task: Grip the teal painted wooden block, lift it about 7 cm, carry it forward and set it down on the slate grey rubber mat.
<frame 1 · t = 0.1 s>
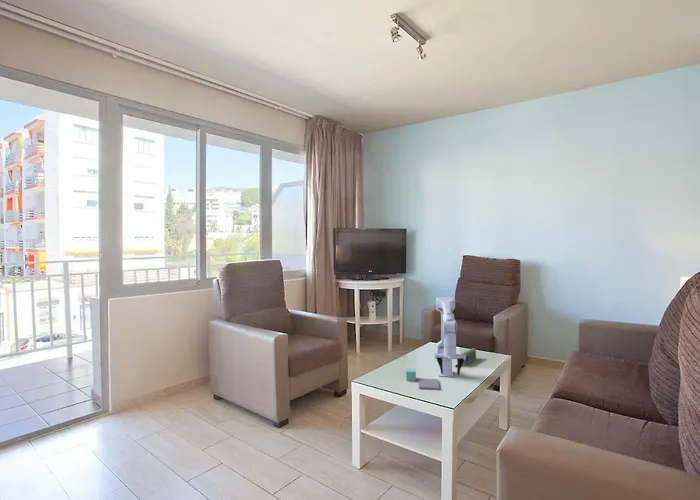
hand: (450, 373, 181), 10 cm above the table, tool pointing down, fingers open, 7 cm apart
handheld radio: (465, 363, 228), on the table
teal block: (411, 379, 202), on the table
slate mat: (428, 384, 194), on the table
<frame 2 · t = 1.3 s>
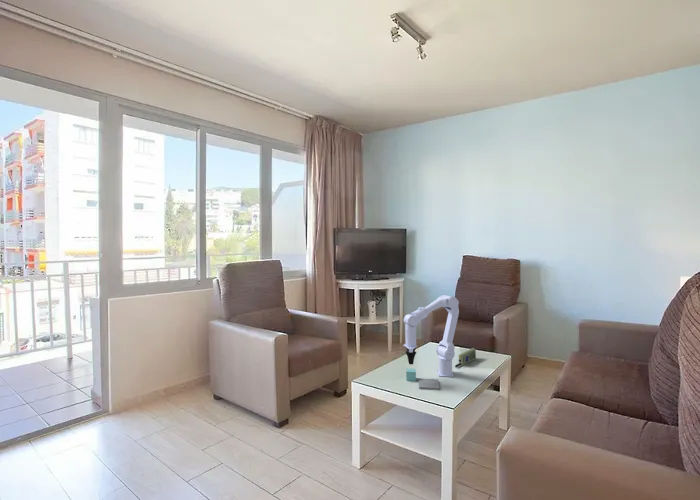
hand: (411, 361, 202), 9 cm above the table, tool pointing down, fingers open, 7 cm apart
nothing on the table moved.
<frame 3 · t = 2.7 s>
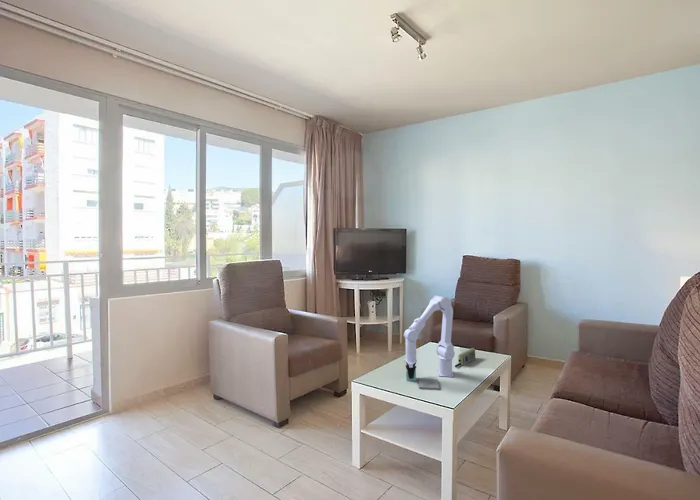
hand: (411, 376, 202), 1 cm above the table, tool pointing down, fingers closed on teal block, 5 cm apart
teal block: (411, 379, 202), on the table, touching gripper
everything else where it was.
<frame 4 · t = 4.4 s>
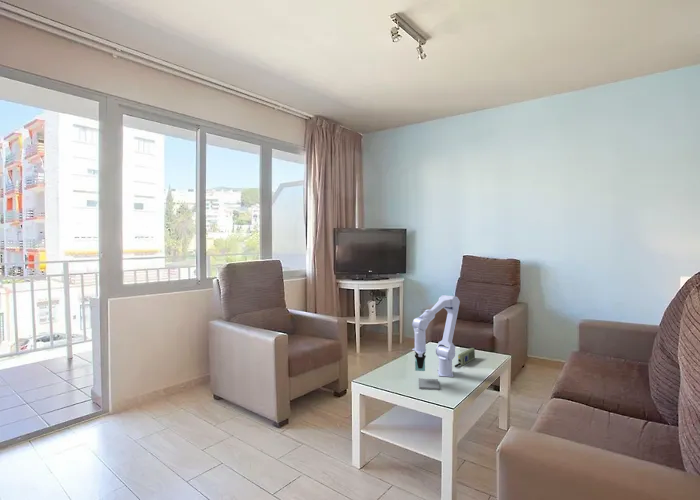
hand: (420, 366, 198), 8 cm above the table, tool pointing down, fingers closed on teal block, 5 cm apart
teal block: (420, 369, 198), point 7 cm above the table, touching gripper
everything else where it was.
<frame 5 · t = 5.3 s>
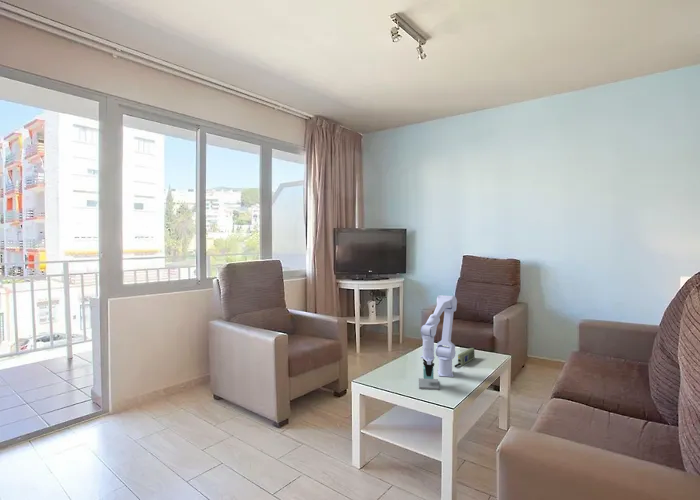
hand: (428, 374, 194), 6 cm above the table, tool pointing down, fingers closed on teal block, 5 cm apart
teal block: (428, 377, 194), point 4 cm above the table, touching gripper
everything else where it was.
when the fingers open (3 cm above the table, at t = 6.2 s): teal block stays where it is, resting on slate mat.
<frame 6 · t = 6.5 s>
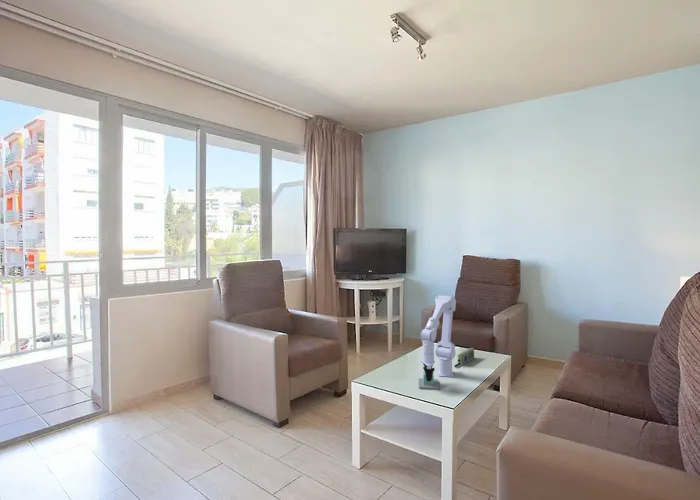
hand: (428, 378, 194), 3 cm above the table, tool pointing down, fingers open, 7 cm apart
teal block: (428, 382, 194), point 1 cm above the table, touching slate mat
everything else where it was.
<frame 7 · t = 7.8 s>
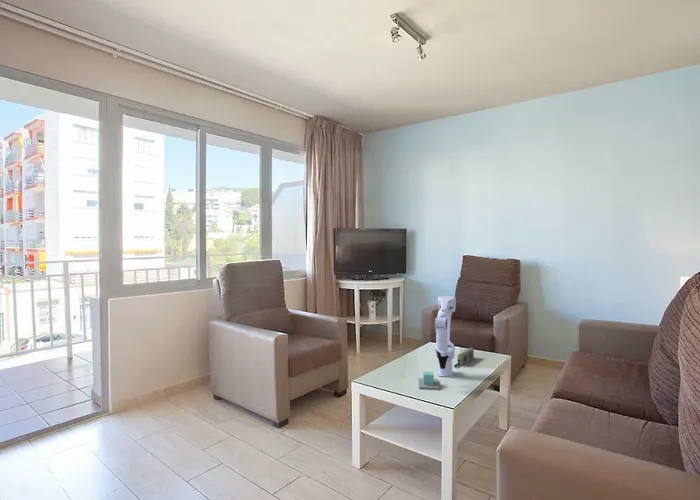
hand: (442, 366, 194), 9 cm above the table, tool pointing down, fingers open, 7 cm apart
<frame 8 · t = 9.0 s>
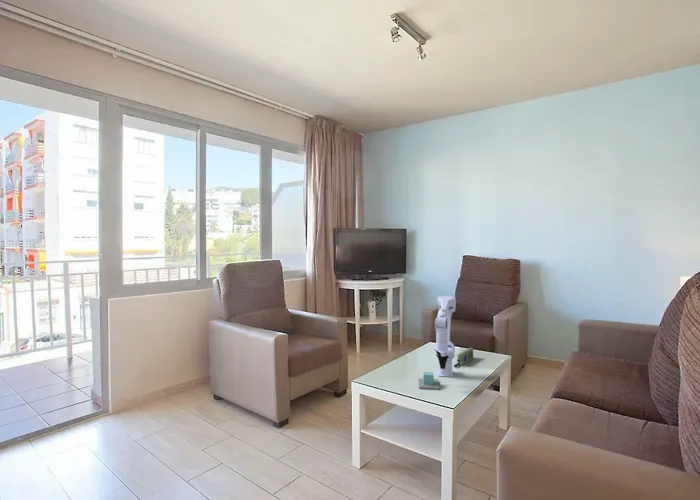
hand: (442, 366, 194), 9 cm above the table, tool pointing down, fingers open, 7 cm apart
at the end: teal block inside the target area (0.1 cm from its centre), point 1.0 cm above the table; teal block tilted 0°; the gripper is holding nothing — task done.
